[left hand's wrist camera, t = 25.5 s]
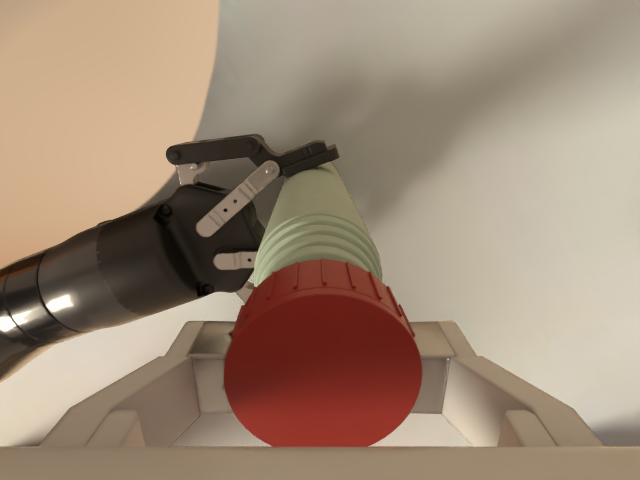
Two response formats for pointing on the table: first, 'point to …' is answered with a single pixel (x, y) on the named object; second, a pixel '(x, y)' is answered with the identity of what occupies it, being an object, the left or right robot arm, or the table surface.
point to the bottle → (315, 226)
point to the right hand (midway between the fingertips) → (349, 189)
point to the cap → (322, 358)
